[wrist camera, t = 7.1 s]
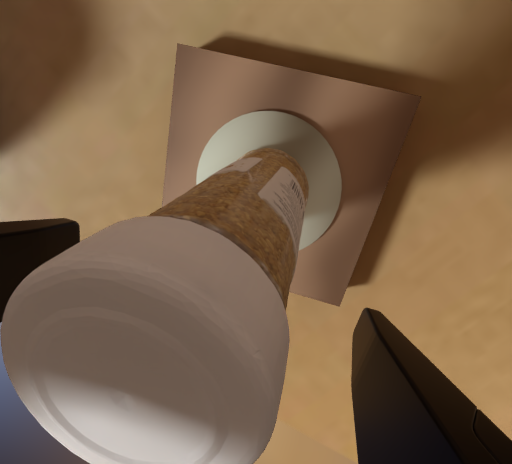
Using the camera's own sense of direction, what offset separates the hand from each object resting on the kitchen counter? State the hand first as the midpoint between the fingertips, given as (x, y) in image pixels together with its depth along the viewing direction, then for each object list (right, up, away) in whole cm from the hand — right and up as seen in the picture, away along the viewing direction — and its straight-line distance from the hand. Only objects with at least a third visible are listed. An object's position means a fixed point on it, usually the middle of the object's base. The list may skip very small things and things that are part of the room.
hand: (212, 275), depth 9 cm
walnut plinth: (+2, +4, +10) cm, 11 cm away
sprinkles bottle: (+2, +4, +8) cm, 9 cm away
